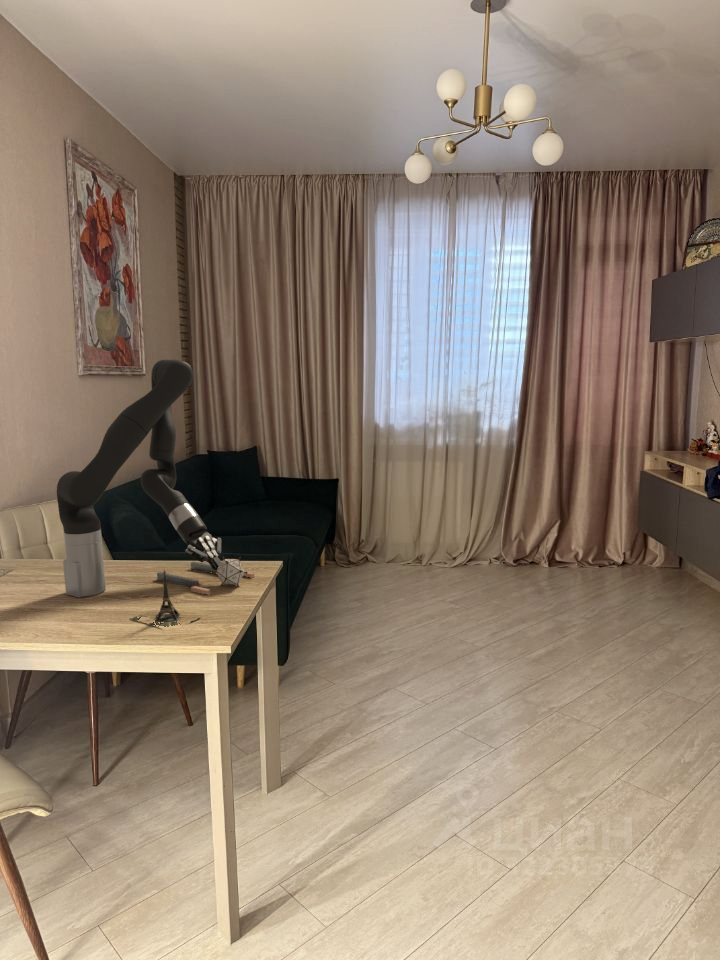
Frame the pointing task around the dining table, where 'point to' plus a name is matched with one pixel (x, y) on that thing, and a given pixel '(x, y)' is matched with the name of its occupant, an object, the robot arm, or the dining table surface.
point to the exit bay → (207, 591)
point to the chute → (183, 580)
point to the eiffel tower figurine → (165, 610)
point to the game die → (230, 571)
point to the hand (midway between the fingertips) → (220, 569)
